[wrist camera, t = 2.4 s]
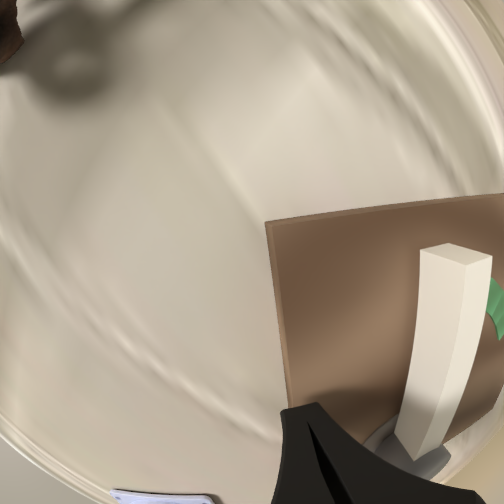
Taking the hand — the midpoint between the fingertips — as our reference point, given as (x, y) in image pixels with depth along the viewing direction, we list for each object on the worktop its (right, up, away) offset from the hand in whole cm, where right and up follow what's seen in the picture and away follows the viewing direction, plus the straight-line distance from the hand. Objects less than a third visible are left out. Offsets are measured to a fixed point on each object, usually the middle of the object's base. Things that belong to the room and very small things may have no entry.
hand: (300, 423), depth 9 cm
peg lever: (+6, 0, +1) cm, 6 cm away
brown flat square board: (+9, 0, +4) cm, 10 cm away
